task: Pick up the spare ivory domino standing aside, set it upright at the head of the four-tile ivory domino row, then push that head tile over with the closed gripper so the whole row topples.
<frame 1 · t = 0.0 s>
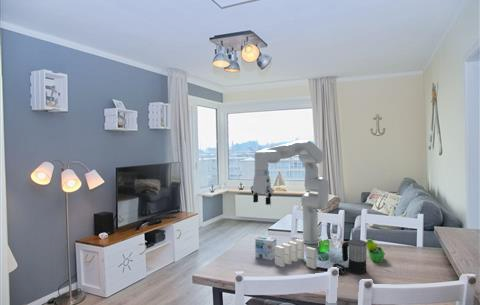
hand: (261, 203, 188), 31 cm above the table, tool pointing down, fingers open, 9 cm apart
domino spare: (311, 267, 175), on the table
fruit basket: (374, 259, 186), on the table
domino 3: (293, 260, 185), on the table
domino 4: (286, 262, 182), on the table
milk frother: (350, 272, 168), on the table
domino 2: (299, 257, 189), on the table
domino 5: (279, 265, 178), on the table
light bulb box: (266, 257, 191), on the table
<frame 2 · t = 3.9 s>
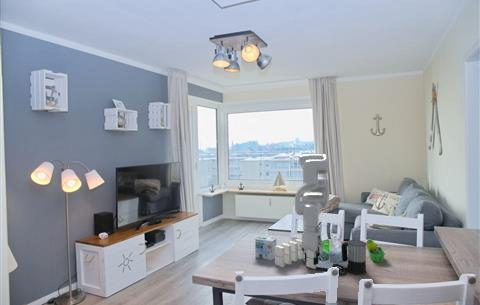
hand: (311, 262, 175), 2 cm above the table, tool pointing down, fingers closed on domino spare, 4 cm apart
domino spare: (311, 267, 175), on the table, touching gripper
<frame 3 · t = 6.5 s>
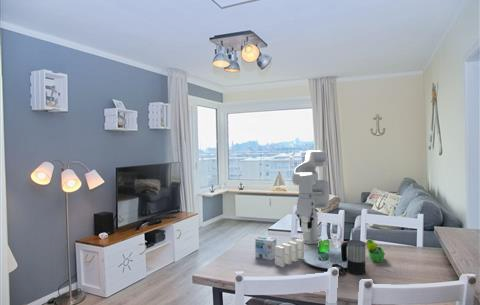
hand: (305, 227, 192), 16 cm above the table, tool pointing down, fingers closed on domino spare, 4 cm apart
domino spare: (305, 231, 192), point 14 cm above the table, touching gripper
when the fingers open (3 cm above the table, at t = 9.2 s): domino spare stays where it is, on the table.
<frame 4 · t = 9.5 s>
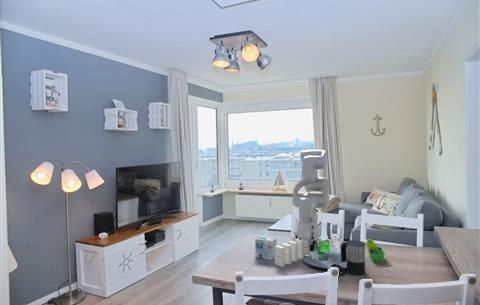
hand: (305, 249, 193), 4 cm above the table, tool pointing down, fingers open, 8 cm apart
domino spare: (305, 255, 193), on the table
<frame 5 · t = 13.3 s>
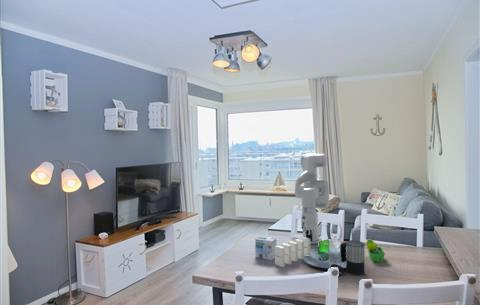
hand: (309, 240, 195), 8 cm above the table, tool pointing down, fingers closed
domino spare: (305, 255, 193), on the table, touching gripper
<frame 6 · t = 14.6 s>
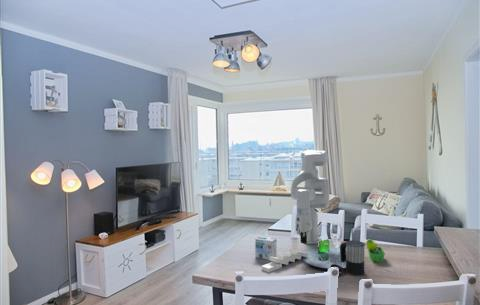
hand: (303, 242, 191), 8 cm above the table, tool pointing down, fingers closed
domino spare: (303, 254, 192), point 1 cm above the table, tilted 69°, touching domino 2
domino 3: (291, 259, 184), point 1 cm above the table, tilted 68°, touching domino 2, domino 4
domino 4: (284, 261, 181), point 1 cm above the table, tilted 69°, touching domino 3
domino 2: (297, 256, 188), point 1 cm above the table, tilted 68°, touching domino 3, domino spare
domino 5: (278, 264, 177), point 1 cm above the table, tilted 90°
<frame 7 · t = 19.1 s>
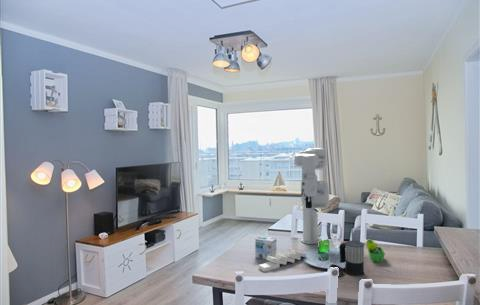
hand: (308, 207, 194), 27 cm above the table, tool pointing down, fingers closed
at the end: domino 5 tilted 90°; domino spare tilted 69°; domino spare inside the target area (1.6 cm from its centre), point 0.9 cm above the table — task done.
